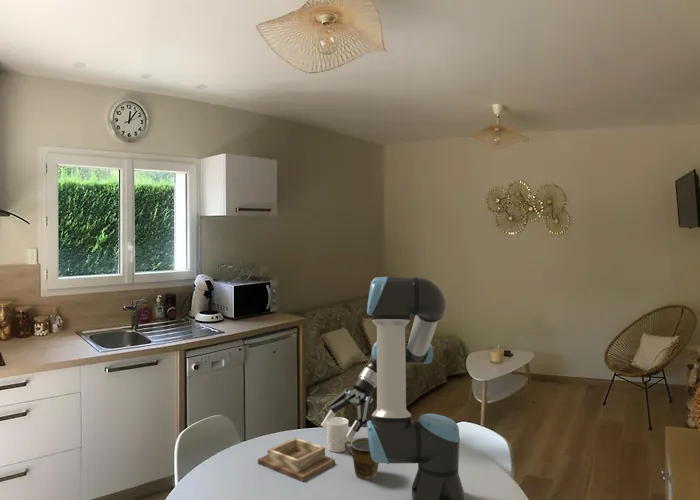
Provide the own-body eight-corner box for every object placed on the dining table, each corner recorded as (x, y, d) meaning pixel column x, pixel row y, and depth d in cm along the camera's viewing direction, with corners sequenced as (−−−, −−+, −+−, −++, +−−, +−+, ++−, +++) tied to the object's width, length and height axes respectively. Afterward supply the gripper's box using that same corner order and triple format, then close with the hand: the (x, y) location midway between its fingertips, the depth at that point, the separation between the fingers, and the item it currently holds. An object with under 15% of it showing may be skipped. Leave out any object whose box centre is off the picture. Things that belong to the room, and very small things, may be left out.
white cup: (322, 446, 187) (323, 418, 186) (342, 442, 190) (343, 415, 190) (331, 454, 180) (331, 426, 179) (351, 451, 183) (352, 423, 183)
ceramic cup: (386, 472, 167) (387, 441, 167) (372, 485, 158) (372, 453, 158) (352, 462, 174) (352, 433, 173) (336, 474, 165) (336, 443, 165)
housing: (334, 463, 173) (335, 449, 172) (302, 481, 160) (302, 465, 160) (291, 447, 185) (291, 434, 184) (257, 463, 172) (257, 448, 172)
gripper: (395, 396, 187) (365, 449, 177) (349, 381, 205) (319, 428, 196) (385, 385, 183) (354, 437, 173) (339, 370, 201) (308, 417, 192)
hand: (335, 432), depth 184 cm, fingers open, 13 cm apart
